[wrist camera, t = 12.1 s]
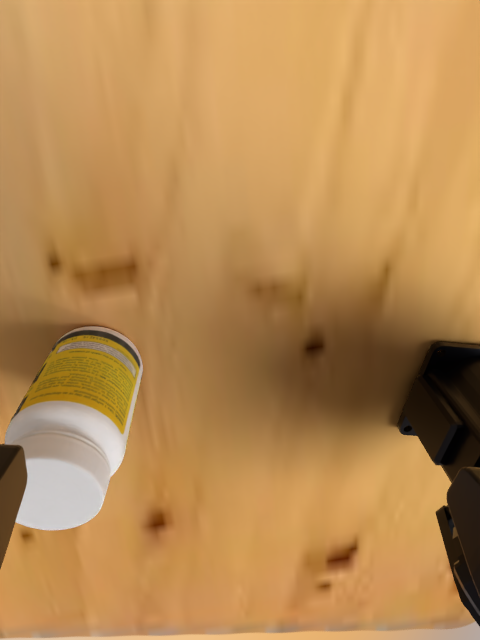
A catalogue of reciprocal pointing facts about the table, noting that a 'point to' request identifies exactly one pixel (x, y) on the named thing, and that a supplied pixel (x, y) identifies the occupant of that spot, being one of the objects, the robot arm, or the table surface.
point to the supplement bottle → (75, 426)
